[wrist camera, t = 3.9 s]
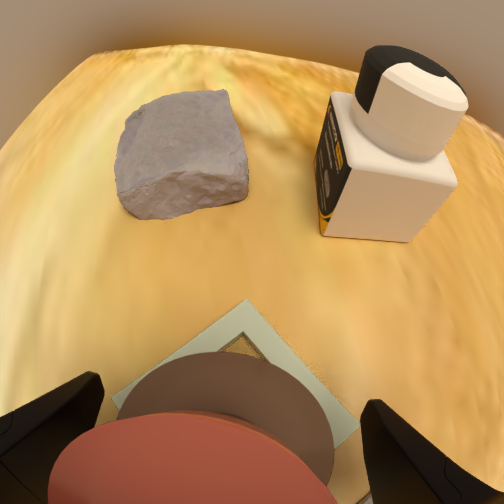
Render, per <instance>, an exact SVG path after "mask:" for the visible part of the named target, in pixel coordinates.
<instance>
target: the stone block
mask: <svg viewBox="0 0 504 504" xmlns="http://www.w3.org/2000/svg"><path fill="white" fill-rule="evenodd" d="M116 157H117V159H116V162H115V165H114V172H115V176H116V178H115V182H116V186H117V196H118V198H119V200H120V202H121V204H122V205H123V206H124V208H125V209H127V210H128V211H129V212H130V213H131V214H132V215H135V216H136V217H137V218H138V219H140V220H150V219H163V220H164V219H172V218H174V217H178V216H180V215H183V214H186V213H191V212H193V211H195V210H197V209H202V208H211V207H218V206H221V205H224V204H227V203H231V202H236V201H241V200H243V199H245V197H246V196H247V194H248V181H249V176H248V174H249V169H248V158H247V155H246V151H245V147H244V142H243V139H242V136H241V133H240V130H239V127H238V124H237V122H236V121H235V119H234V116H233V113H232V109H231V106H230V100H229V95H228V92H227V90H224V89H222V90H218V91H194V92H181V93H176V94H171V95H166V96H162V97H160V98H158V99H156V100H153V101H152V102H150V103H147V104H144V105H142V106H141V107H140V108H139V109H138V110H137V111H134V112H133V113H132V114H131V115H130V116H129V117H128V118H127V119H126V121H125V130H124V131H123V133H122V134H121V137H120V140H119V144H118V148H117V155H116Z"/></svg>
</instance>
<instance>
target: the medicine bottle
mask: <svg viewBox="0 0 504 504" xmlns="http://www.w3.org/2000/svg"><path fill="white" fill-rule="evenodd" d="M467 108H468V101H467V96H466V93H465V92H464V90H463V88H462V87H461V86H460V84H459V83H458V82H457V80H456V79H455V78H454V77H453V76H452V75H451V74H450V73H449V72H448V71H447V70H445V69H444V68H443V67H441V66H440V65H439V64H437V63H436V62H434V61H432V60H431V59H429V58H427V57H425V56H423V55H421V54H419V53H417V52H414V51H412V50H409V49H406V48H402V47H398V46H386V45H385V46H381V45H379V46H375V47H372V48H370V49H369V50H367V51H366V53H365V56H364V60H363V63H362V67H361V71H360V74H359V78H358V81H357V85H356V88H355V92H354V94H350V93H344V92H338V91H334V92H332V93H331V95H330V99H329V104H328V108H327V112H326V116H325V120H324V124H323V128H322V132H321V136H320V140H319V144H318V148H317V152H316V155H315V159H314V167H315V176H316V185H317V195H318V206H319V217H320V230H321V234H322V235H324V236H332V237H345V238H358V239H371V240H383V241H395V242H410V241H411V240H412V239H413V238H414V237H415V236H416V235H417V234H418V232H419V231H420V230H421V229H422V228H423V227H424V226H425V224H426V223H427V222H428V221H429V220H430V219H431V218H432V216H433V215H434V214H435V213H436V212H437V210H438V209H439V208H440V207H441V206H442V204H443V203H444V202H445V201H446V200H447V198H448V197H449V196H450V195H451V193H452V192H453V191H454V190H455V188H456V187H457V185H458V181H457V178H456V176H455V174H454V172H453V169H452V167H451V165H450V163H449V161H448V159H447V156H446V154H445V152H444V150H443V149H444V148H445V146H446V144H447V143H448V141H449V140H450V138H451V136H452V135H453V133H454V131H455V129H456V128H457V126H458V124H459V123H460V121H461V119H462V117H463V115H464V114H465V112H466V110H467Z"/></svg>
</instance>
